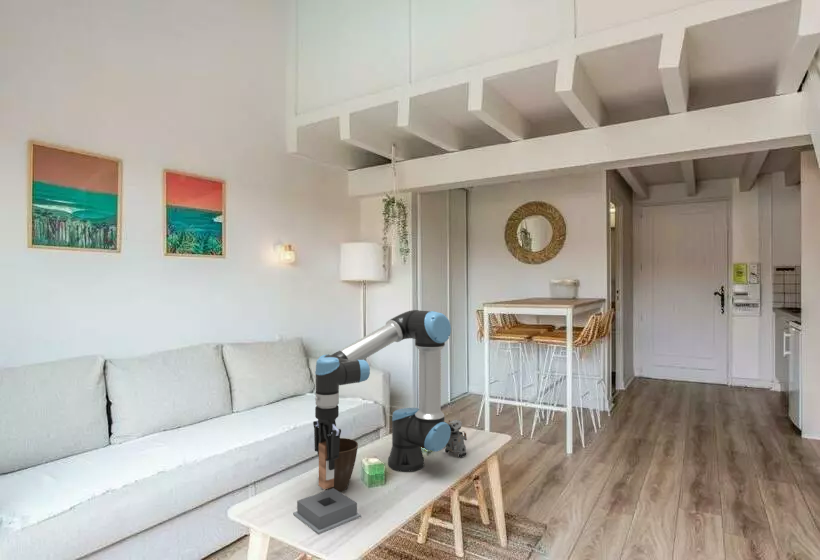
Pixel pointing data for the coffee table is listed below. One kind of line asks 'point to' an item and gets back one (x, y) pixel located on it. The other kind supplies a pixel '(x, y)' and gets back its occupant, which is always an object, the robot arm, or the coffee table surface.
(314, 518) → the socket block
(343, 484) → the plant pot
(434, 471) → the coffee table surface
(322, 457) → the peg
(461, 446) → the figurine
